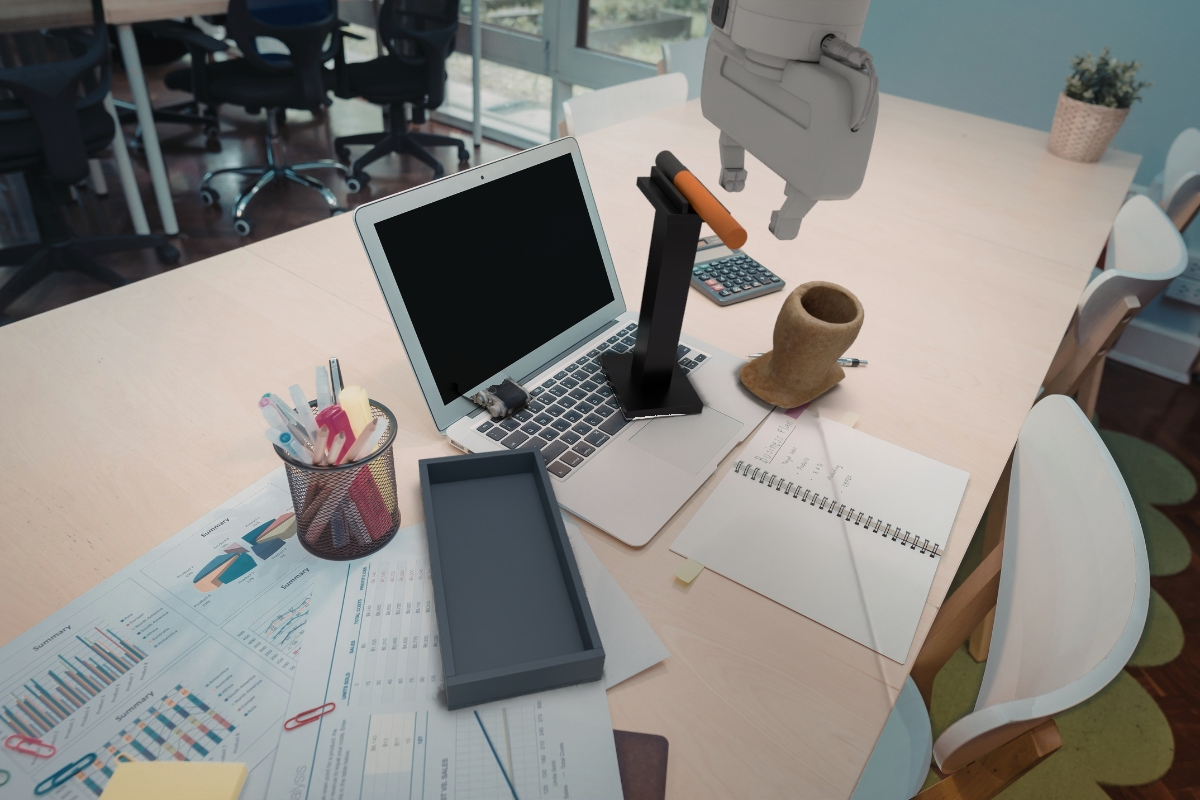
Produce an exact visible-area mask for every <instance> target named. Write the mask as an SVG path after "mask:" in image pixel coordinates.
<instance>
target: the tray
mask: <svg viewBox="0 0 1200 800" xmlns="http://www.w3.org/2000/svg"><path fill="white" fill-rule="evenodd" d="M417 464H418V479H419V488H420V495H421V504H422V511H423V520H424V521H423V522H424V528H425V535H426V544H427V553H428V559H429V569H430V578H431V584H432V593H433V601H434V608H435V617H436V625H437V632H438V633H437V634H438V641H439V649H440V658H441V665H442V673H443V681H444V689H445V696H446V705H447V706H446V707H447V711H454V710H458V709H463V708H468V707H473V706H477V705H483V704H487V703H492V702H493V703H494V702H497V701H503V700H507V699H513V698H516V697H521V696H526V695H527V696H528V695H531V694H536V693H542V692H546V691H552V690H556V689H561V688H566V687H570V686H575V685H576V686H577V685H581V684H585V683H590V682H595V681H599V680H602V679H603V672H604V666H605V661H606V656H607V655H606V651H605V648H604V647H603V643H602V640H601V636H600V633H599V629H598V626H597V624H596V621H595V617H594V614H593V611H592V608H591V605H590V602H589V598H588V595H587V592H586V588H585V586H584V582H583V579H582V576H581V572H580V569H579V567H578V564H577V560H576V557H575V554H574V551H573V547H572V544H571V540H570V539H569V535H568V531H567V529H566V525H565V522H564V520H563V516H562V512H561V510H560V507H559V503H558V499H557V497H556V494H555V491H554V488H553V484H552V481H551V479H550V475H549V472H548V469H547V466H546V462H545V459H544V456H543V453H542V450H541V447H540V446H539V445H537V446H528V447H519V448H518V447H517V448H509V449H501V450H491V451H483V452H475V453H474V452H473V453H464V454H455V455H446V456H438V457H429V458H420V459H418V460H417Z"/></svg>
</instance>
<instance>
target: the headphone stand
mask: <svg viewBox="0 0 1200 800" xmlns="http://www.w3.org/2000/svg"><path fill="white" fill-rule="evenodd" d="M684 166H685V165H684ZM650 167H651V168H650V173H649V176H637V177H636V182H635V185H636V188H637V189H638V190H639V191H640V192H641V193H642V195H643V196H644V197H645V198H646V199H647V201H648V203H650V205H651V207H652V208H653V209H654V210H655V211H654V216H653V217H654V218H653V223H652V230H651V238H650V243H649V249H648V256H647V264H646V270H645V276H644V283H643V289H642V295H641V302H640V307H639V308H640V310H639V314H638V322H637V327H636V333H635V342H634V348H633V352H624V353H611V354H600V355H599V359H598V360H599V362H600V364H601V366H602V369H603V371H604V373H605V375H606V377H607V379H608V381H609V383H610V386H611V388H612V390H613V392H614V394H615V396H616V398H617V400H618V403H619V405H620V407H621V409H622V411H623V413H624V415H625V417H626V418H635V417H645V416H655V415H656V416H657V415H669V414H670V415H671V414H691V415H695V414H694V413H701V414H702V413H703V409H704V405H705V403H704V402H703V400H702V399H701V397H700V395H699V393H697V390H696V389H695V387H694V385H693V384H692V382H691V381H690V379H689V377H688V375H687V374H686V372H685V371H684V369H683V368H682V365H680V363H679V361H678V359H677V353H678V348H679V343H680V337H681V333H682V328H683V323H684V316H685V312H686V308H687V302H688V297H689V294H690V293H689V292H690V287H691V282H692V277H693V272H694V267H695V262H696V256H697V251H698V248H699V247H698V246H699V242H700V236H701V231H702V227H703V223H704V224H707V223H706V222H705V221H704V220H703V219H702V218H701V217H700V215H699V214H698V213H697V212H696V211H695V210H694V209H693V207H692V206H691V205H690V204H689V202H688V201H687V200H686V199H685V198H684V197H683V196H682V195H681V193H680V192H679V191H678V190H677V189H676V188H675V187H674V185H673V184H672V183H671V182H670V181H669V180H668V179H667V178H666V176H665V175H664V174H663V173H662V172H661V171H660V170H659V168H658V167H657V166H656V165H651V166H650ZM685 167H686V168H687V166H685ZM688 171H689V172H690V173H691V174H692V175H693V176H694V177H695V178H696V179H697V180H698V181H699V182H700V183H701V184H702V185H703V186H704V187H705V188H706V189H707V190H708V192H709V193H710V194H711V195H712V196H713V197H714V198H715V199H716V200H717V201H718V202H719V203H720V204H721V205H722V206H723V207H724V208H725V209H726V210H727V211H728V213H729V214H730V215H731V216H732V212H730V211H729V210H728V208H727V207H726V206H725V205H724V204H723V203H722V202H721V201H720V200H719V199H718V198H717V197H716V196H715V195H714V194H713V192H711V191H710V190H709V189H708V188H707V186H705V184H703V182H702V181H701V180H700V179H699V178H697V176H695V174H693V173H692V172H691V170H689V169H688ZM599 362H598V363H599ZM692 413H693V414H692Z"/></svg>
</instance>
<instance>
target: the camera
mask: <svg viewBox="0 0 1200 800" xmlns="http://www.w3.org/2000/svg"><path fill="white" fill-rule="evenodd" d="M470 398H472V399H473V400H474V401H473V402H474V403H477V402H478V403H479V404H480V405H479V404H478V405H479V406H481V405H483V406H486V409H487V410H488V411H489V412H490V414H491V415H492V417H494V418H497V417H500V416H503V417H502V418H505V417H508V416H509V415H510V414H512V412H513V413H514V412H516V411H518V410H521V409H522V408H524V407H525V406H528V405H529V404H531V400H532V396H531V394H530V392H529V391H528V390H527V389H526V387H523V386H522V384H519V383H518V382H517V381H515V380H514V379H513V378H512V377H511V376H509V377H508V378H506V379H504V381H503V382H502V384H500V385H492V386H490V387H489V388H486V389H485V390H482V391H480V392H478V393H477V394H475V395H473V396H471V397H470ZM474 403H473V404H474ZM528 403H529V404H528ZM527 404H528V405H527ZM483 406H482V407H483ZM499 415H500V416H499Z"/></svg>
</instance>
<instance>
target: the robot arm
mask: <svg viewBox="0 0 1200 800" xmlns="http://www.w3.org/2000/svg"><path fill="white" fill-rule="evenodd" d="M871 3H872V0H709V5H708V9H707V10H708V11H707V23H708V24H709V25H710V26H711V27H713V29H712V30H711V32H710V34H709V36H708V39H707V43H706V47H705V55H704V61H703V68H702V78H701V84H700V85H701V87H700V108H701V113H702V116H703V118H705V119H706V120H707V121H708V122H710V123H711V124H712V125H713V126H715V127H716V128H717V129H719V130H720V133H719V138H718V147H719V159H720V165H721V167H720V173H719V177H718V185H719V186H720V187H721V188H722V189H723V190H724V191H726V193H741V192H743V191H744V190H745V187H746V181H747V177H748V173H749V171H747V170H746V168H745V154H746V152H748V153H749V154H750V155H752V157H754V158H755V159H757V160H758V161H759V162H760V163H762V164H763V165H764V166H766V167H767V168H768V169H769V170H771V171H772V172H773V173H774V174H776V175H777V176H778V177H780V178H781V179H782V180H783V181H785V186H784V189H783V195H784V196H785V197H786V198H785V200H784V202H783V204H782V205H781V207H780V208H779V209H778V210H777V209H775V210H772V211H771V215H770V223H769V224H768V231H769V232H770V233H771V234H772V236H774V237H775V238H776V239H777V240H778V241H792V240H795V239H796V238H797V237H798V235H799V233H800V229H801V225H802V222H803V219H804V218H805V217H806V216H807V215H808V213H809V212H810V211H811V210H812V209H813V208H814V206H815V205H817V203H818V202H819V201H820V202H821V201H823V202H824V201H825V202H826V201H828V202H830V201H831V202H833V201H847V200H850V199H851V198H852V197H854V196H855V194H856V193H858V191H860V189H861V187H862V186H863V183H864V180H865V176H866V172H867V168H868V166H869V165H868V164H869V160H870V156H871V153H872V152H871V151H872V147H873V143H874V138H875V134H876V128H877V123H878V117H879V109H880V95H879V94H880V93H879V82H880V79H879V77H878V76H877V72H876V68H875V65H874V63H873V61H874V60H873V59H874V58H873V55H872V54H871V53H870V51H869V50H867V49H865V48H863V47H860V42H861V38H862V36H863V31H864V28H865V25H866V20H867V17H868V14H869V10H870V6H871ZM866 70H867V71H866ZM745 151H746V152H745Z"/></svg>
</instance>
